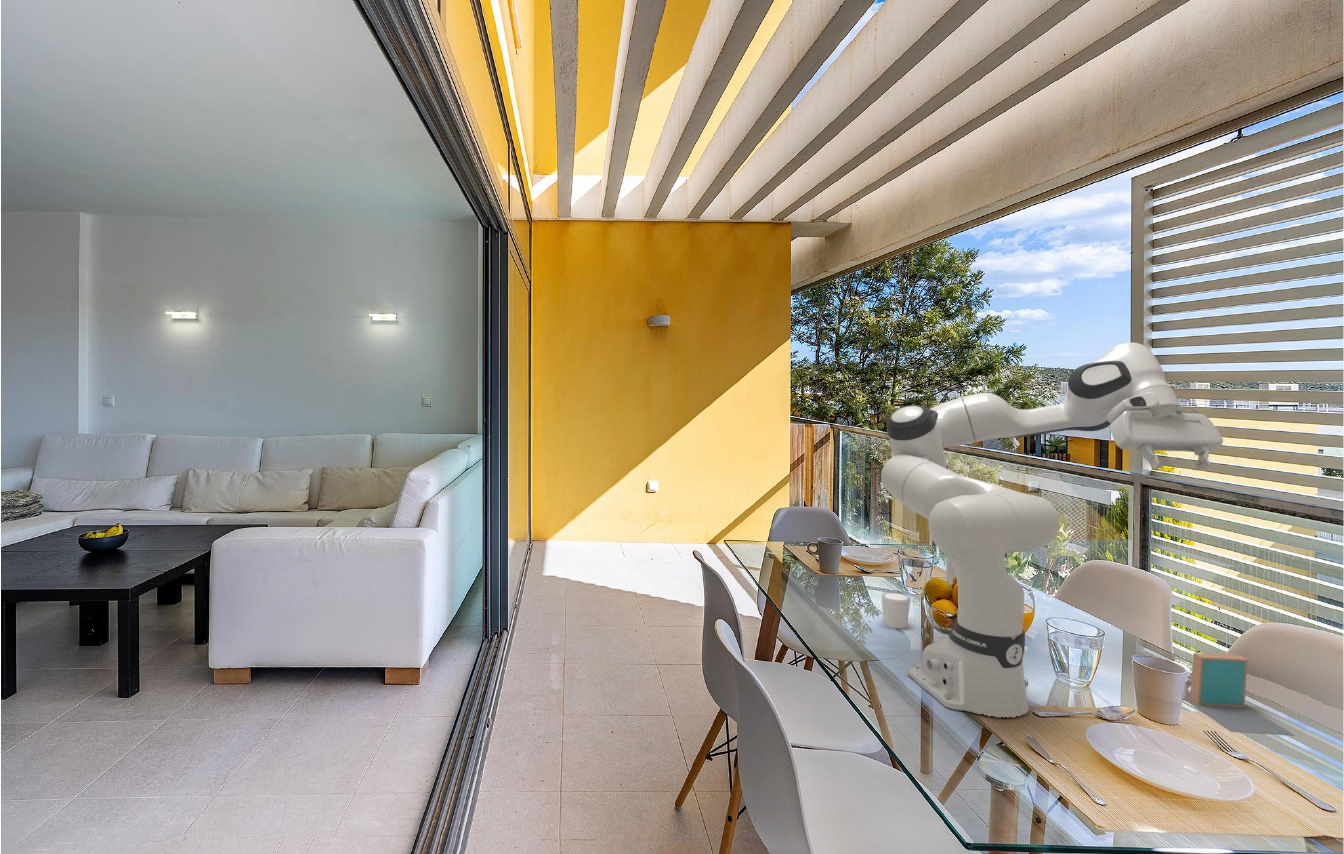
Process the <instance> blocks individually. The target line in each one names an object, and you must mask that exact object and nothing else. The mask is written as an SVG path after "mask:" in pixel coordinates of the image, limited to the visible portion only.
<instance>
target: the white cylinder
mask: <svg viewBox="0 0 1344 854" xmlns="http://www.w3.org/2000/svg"><path fill="white" fill-rule="evenodd" d="M911 601H912V598H911V597H910V596H909V595H907V594H903V593H899V592H885V593H882V594H881V606H882V623H883V625H884V626H886V627H888V628H892V629H893V628H894V629H905V628H907V627H908V623H909V622H908V621H909V614H910V609H911V608H910V607H911Z"/></svg>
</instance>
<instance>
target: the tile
mask: <svg viewBox="0 0 1344 854" xmlns="http://www.w3.org/2000/svg"><path fill="white" fill-rule="evenodd" d="M1192 653H1193V654H1192V655H1193V656H1192V668H1191V681H1190V683H1191V685H1190V693H1191V696H1190V700H1191V701H1193V702H1194V703H1196V704H1197V705H1208V706H1227V707H1244V704H1245V703H1246V702H1245V701H1246V688H1247V675H1248V674H1247V673H1248V664H1249V663H1248V662H1249V659H1248V658H1245V657H1244V656H1242V655H1239V654H1224V653H1222V654H1221V653H1217V654H1216V653H1205V652H1204V653H1202V652H1201V653H1200V652H1192ZM1245 705H1246V704H1245Z"/></svg>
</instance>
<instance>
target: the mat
mask: <svg viewBox="0 0 1344 854" xmlns="http://www.w3.org/2000/svg"><path fill="white" fill-rule="evenodd" d="M1185 693H1186V696H1185V698H1184V699H1183V700H1184V701H1185V702H1186V703H1189V704H1190V705H1191V706H1193V707H1194V708H1195V709H1197V710H1199V711H1200V712H1201V713H1203V714H1205V715H1206V716H1207V717H1209V718H1210V719H1212V720H1213V721H1215V722H1216V723H1217V724H1219V725H1221V726H1222V727H1223V728H1225V729H1227V730H1228V731H1230V732H1231V733H1245V734H1246V733H1248V734H1262V735H1263V734H1264V735H1279V736H1280V735H1281V736H1294V734H1293V733H1292V732H1290V731H1288V730H1287V729H1285V728H1284V727H1283V726H1280V725H1279V724H1277V723H1276V722H1274V721H1272V720H1271V719H1269V718H1267V717H1266V716H1265V715H1263V714H1261V713H1259V712H1257V711H1255V710H1254V709H1253V708H1251V707H1249V706H1248V705H1246V704H1244V707H1227V706H1208V705H1197V704H1196V703H1194V702H1193V701H1191V700H1190V696H1191V692H1185Z"/></svg>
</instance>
